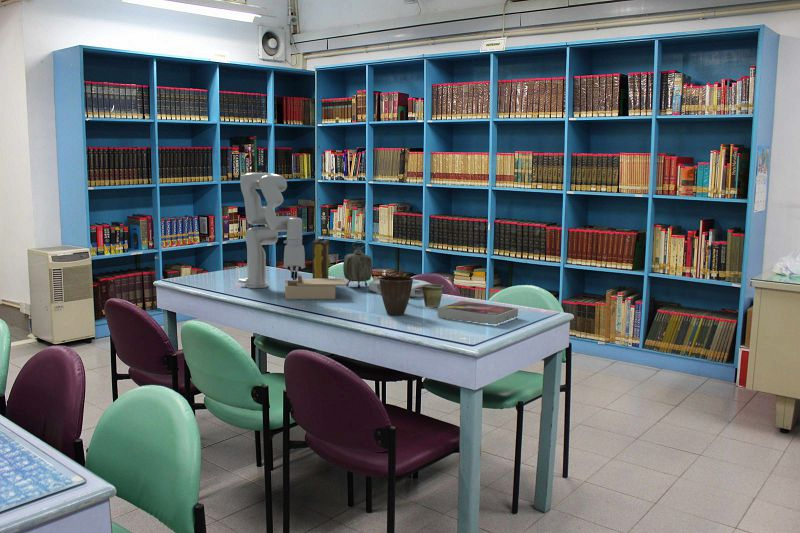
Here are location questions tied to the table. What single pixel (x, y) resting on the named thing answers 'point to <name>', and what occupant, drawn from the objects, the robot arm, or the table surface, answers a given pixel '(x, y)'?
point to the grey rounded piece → (357, 266)
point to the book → (321, 258)
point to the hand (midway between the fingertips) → (294, 279)
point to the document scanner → (416, 283)
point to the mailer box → (307, 291)
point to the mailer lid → (319, 281)
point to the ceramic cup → (432, 295)
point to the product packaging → (477, 312)
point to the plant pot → (395, 293)
